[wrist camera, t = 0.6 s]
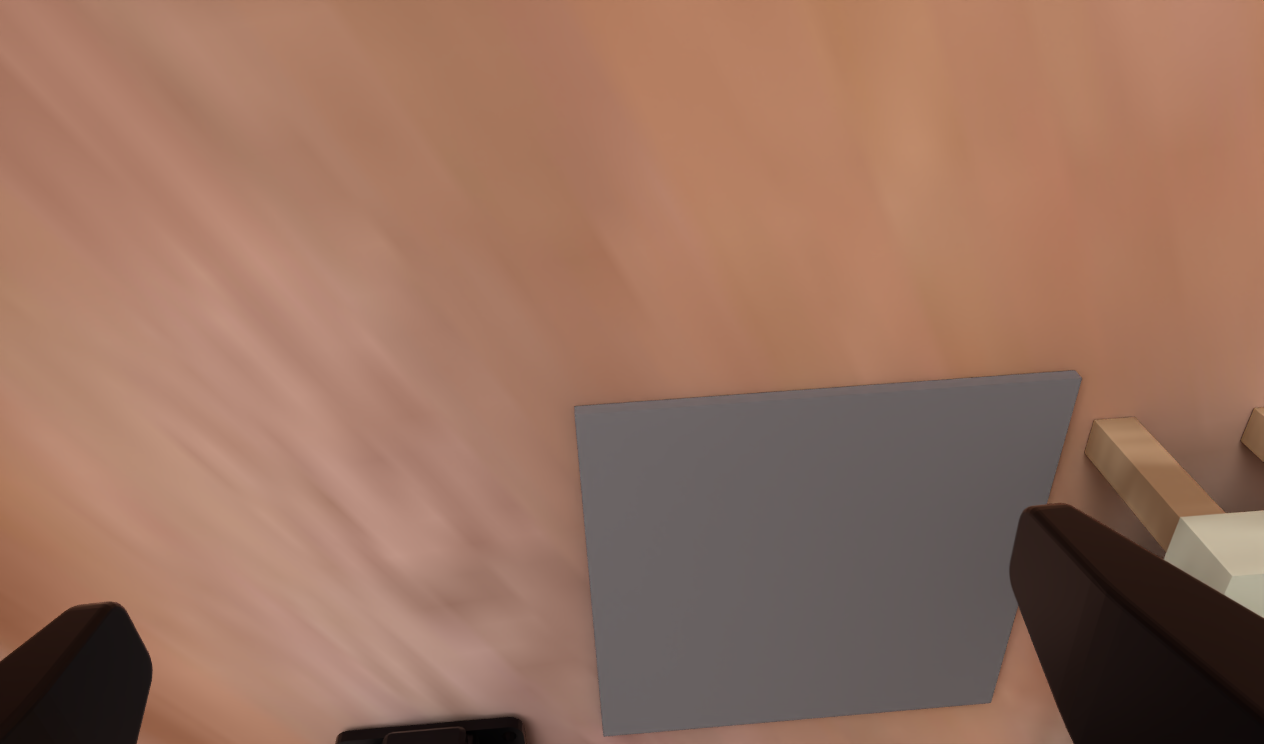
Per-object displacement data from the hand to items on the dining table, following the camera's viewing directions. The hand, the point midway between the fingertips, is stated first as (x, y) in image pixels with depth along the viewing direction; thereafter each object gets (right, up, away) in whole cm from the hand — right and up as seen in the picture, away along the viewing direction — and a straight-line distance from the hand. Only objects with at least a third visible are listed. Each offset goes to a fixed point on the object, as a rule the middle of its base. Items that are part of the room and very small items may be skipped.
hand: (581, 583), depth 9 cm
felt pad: (+6, -4, +19) cm, 21 cm away
